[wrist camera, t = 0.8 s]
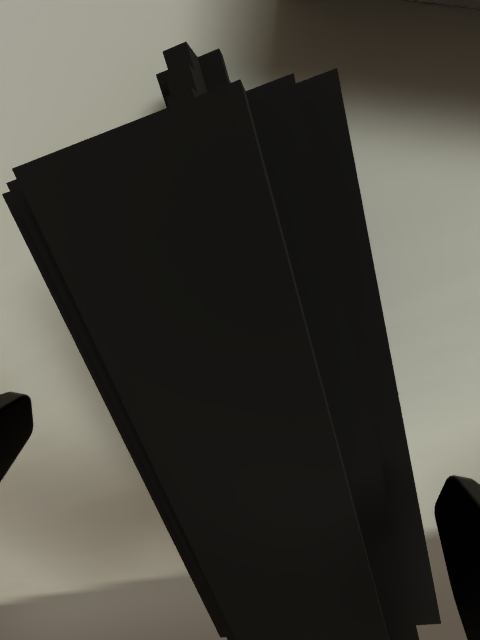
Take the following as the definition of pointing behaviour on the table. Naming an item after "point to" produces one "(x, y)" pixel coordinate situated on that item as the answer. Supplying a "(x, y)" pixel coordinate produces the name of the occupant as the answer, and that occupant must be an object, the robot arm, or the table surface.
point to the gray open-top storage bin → (454, 3)
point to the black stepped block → (243, 348)
